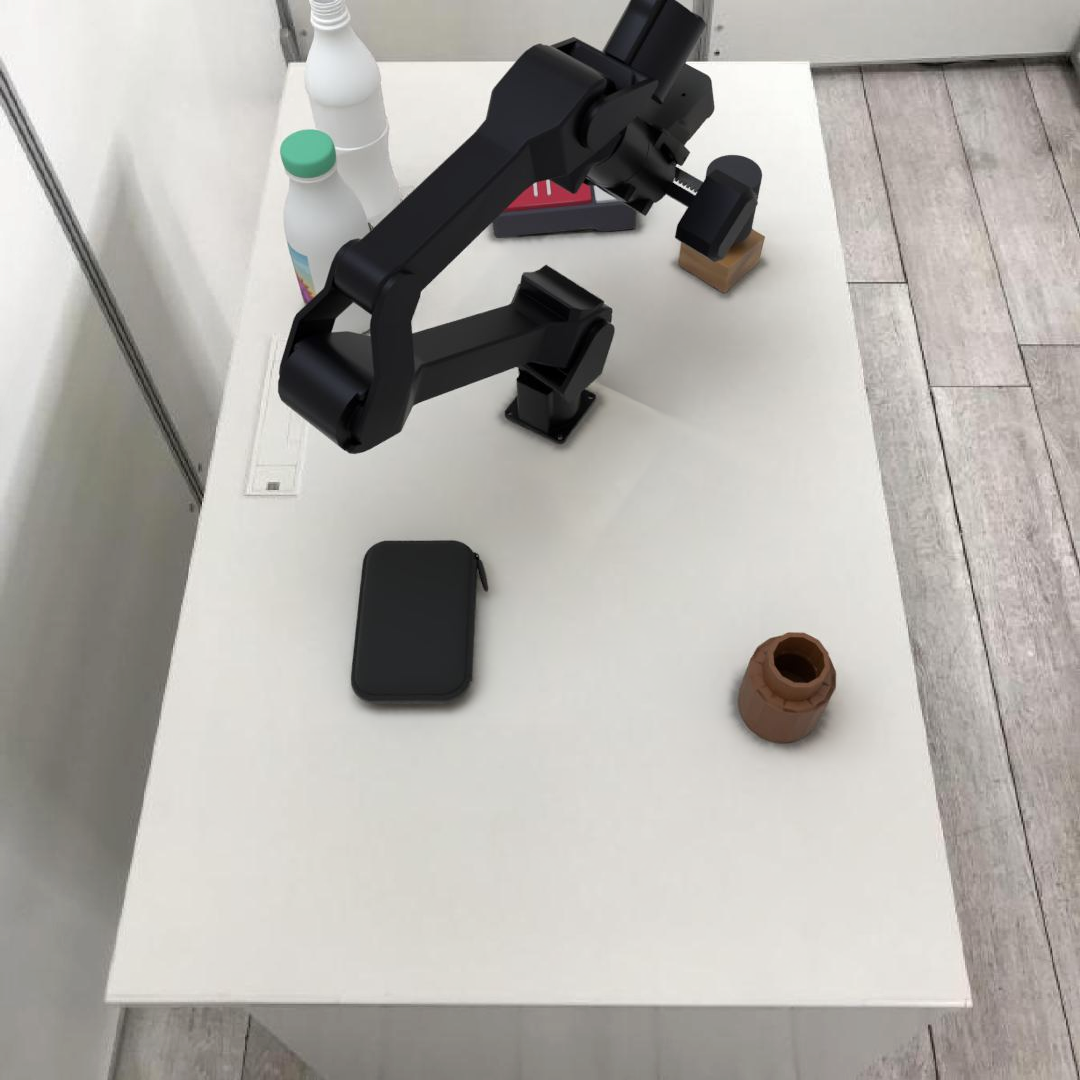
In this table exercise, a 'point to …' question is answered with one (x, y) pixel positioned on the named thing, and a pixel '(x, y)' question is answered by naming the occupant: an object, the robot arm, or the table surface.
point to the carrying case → (416, 622)
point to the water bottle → (351, 107)
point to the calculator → (563, 211)
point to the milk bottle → (320, 217)
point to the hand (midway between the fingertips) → (678, 203)
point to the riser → (724, 262)
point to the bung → (740, 180)
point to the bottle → (786, 687)
